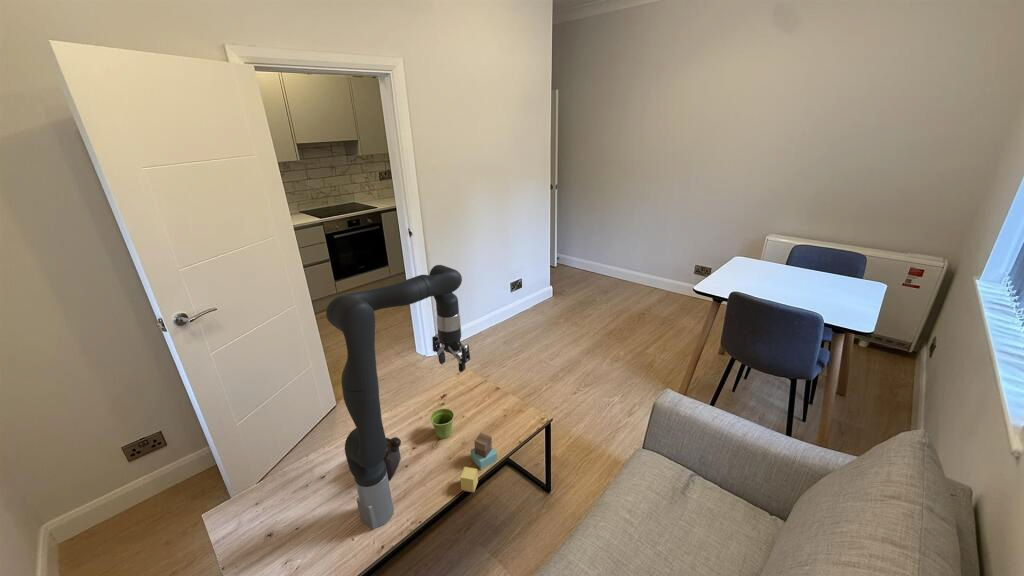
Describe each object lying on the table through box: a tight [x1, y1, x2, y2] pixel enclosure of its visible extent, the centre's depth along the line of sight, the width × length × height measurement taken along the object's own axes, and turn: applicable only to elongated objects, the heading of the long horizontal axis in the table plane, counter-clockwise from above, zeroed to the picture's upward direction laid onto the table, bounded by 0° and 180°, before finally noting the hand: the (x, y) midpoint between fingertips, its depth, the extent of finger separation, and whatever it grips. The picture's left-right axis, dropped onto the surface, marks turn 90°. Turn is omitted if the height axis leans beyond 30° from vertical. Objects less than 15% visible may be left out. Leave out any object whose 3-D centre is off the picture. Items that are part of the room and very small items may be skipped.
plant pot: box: [429, 407, 455, 439], centre depth 162 cm, size 9×9×9 cm
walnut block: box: [474, 432, 493, 458], centre depth 149 cm, size 4×4×6 cm
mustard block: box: [460, 466, 479, 493], centre depth 139 cm, size 4×4×6 cm
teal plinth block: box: [469, 447, 498, 471], centre depth 151 cm, size 7×7×4 cm
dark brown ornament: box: [383, 436, 402, 481], centre depth 144 cm, size 16×11×18 cm
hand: (452, 366), depth 139 cm, fingers open, 8 cm apart
